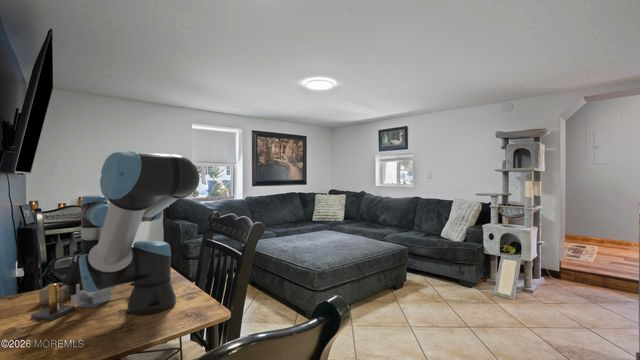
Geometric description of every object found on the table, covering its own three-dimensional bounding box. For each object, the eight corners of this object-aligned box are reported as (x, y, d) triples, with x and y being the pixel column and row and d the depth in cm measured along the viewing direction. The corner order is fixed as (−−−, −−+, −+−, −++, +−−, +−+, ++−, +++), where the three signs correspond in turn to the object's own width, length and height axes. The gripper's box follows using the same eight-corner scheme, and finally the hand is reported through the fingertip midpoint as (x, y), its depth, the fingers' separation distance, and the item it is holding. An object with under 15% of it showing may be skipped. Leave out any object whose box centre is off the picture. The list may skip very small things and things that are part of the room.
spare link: (72, 294, 115) (72, 281, 115) (63, 302, 108) (63, 288, 108) (50, 296, 113) (50, 283, 113) (39, 304, 106) (39, 290, 106)
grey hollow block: (110, 299, 111) (110, 286, 111) (93, 308, 104) (93, 293, 104) (95, 297, 113) (95, 284, 112) (77, 305, 106) (77, 292, 106)
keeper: (75, 309, 103) (75, 280, 102) (50, 320, 95) (50, 289, 95) (57, 307, 104) (57, 278, 104) (30, 318, 97) (30, 287, 96)
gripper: (115, 230, 121) (115, 281, 122) (48, 245, 96) (48, 309, 97) (131, 231, 119) (130, 283, 120) (67, 247, 95) (67, 312, 96)
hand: (94, 295), depth 109 cm, fingers open, 13 cm apart
